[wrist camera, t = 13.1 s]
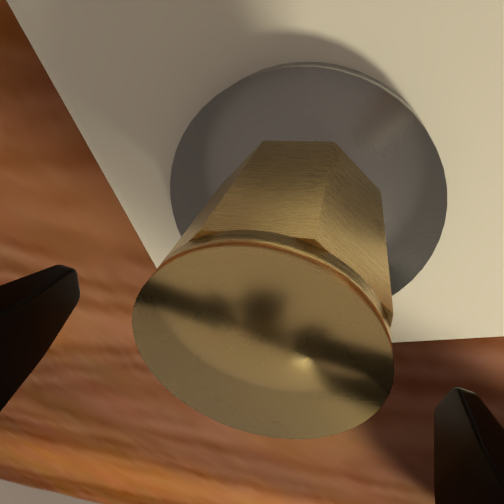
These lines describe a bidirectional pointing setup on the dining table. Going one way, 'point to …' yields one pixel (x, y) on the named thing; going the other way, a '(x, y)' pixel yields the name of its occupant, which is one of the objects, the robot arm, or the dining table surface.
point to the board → (282, 52)
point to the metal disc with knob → (322, 129)
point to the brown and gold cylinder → (277, 298)
